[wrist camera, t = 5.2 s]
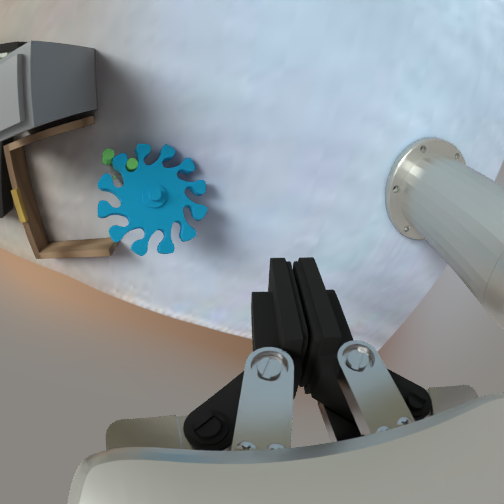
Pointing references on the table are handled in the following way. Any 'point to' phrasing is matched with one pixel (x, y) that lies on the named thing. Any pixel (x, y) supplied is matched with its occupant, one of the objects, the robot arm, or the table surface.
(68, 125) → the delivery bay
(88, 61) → the box
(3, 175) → the digital display
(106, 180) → the gear
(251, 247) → the table surface
